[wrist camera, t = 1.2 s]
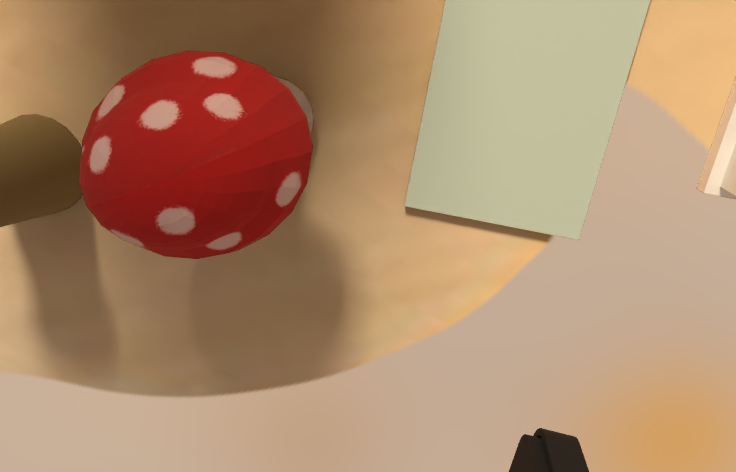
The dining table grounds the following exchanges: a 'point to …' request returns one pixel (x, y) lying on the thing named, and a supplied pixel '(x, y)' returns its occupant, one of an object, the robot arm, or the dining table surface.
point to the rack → (722, 155)
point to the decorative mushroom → (196, 154)
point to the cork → (37, 168)
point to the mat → (522, 109)
